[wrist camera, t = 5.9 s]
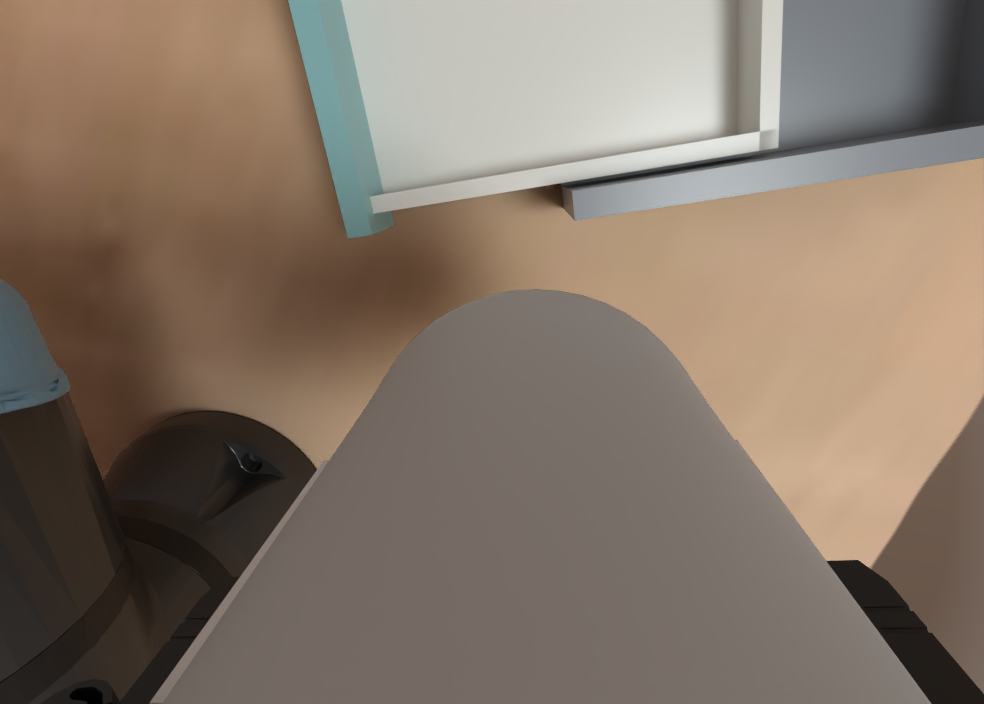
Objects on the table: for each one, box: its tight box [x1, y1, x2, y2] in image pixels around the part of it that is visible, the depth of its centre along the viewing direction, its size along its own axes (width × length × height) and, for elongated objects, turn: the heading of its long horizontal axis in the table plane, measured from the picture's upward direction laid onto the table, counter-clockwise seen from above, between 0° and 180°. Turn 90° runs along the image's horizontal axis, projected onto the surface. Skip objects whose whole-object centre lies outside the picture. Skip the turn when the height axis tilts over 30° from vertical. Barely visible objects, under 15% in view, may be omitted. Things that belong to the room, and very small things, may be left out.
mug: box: [162, 289, 930, 704], centre depth 9 cm, size 12×8×11 cm
